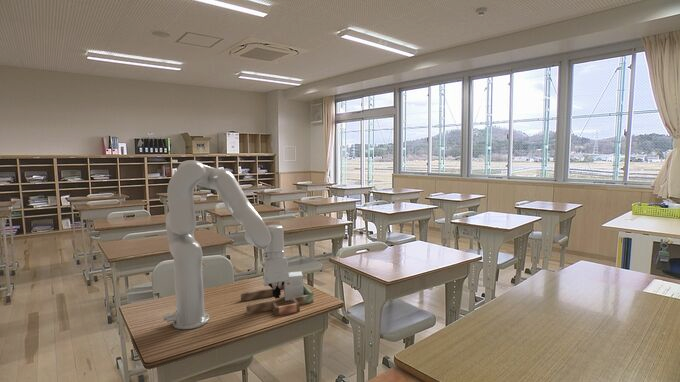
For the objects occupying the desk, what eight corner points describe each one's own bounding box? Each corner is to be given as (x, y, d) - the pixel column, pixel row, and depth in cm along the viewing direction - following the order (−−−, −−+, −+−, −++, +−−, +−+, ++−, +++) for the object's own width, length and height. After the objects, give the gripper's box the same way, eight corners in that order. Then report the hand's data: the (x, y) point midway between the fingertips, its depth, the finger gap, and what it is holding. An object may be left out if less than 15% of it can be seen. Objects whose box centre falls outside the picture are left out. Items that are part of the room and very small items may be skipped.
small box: (302, 294, 163) (301, 271, 162) (303, 299, 157) (303, 275, 156) (284, 296, 161) (283, 272, 160) (284, 301, 156) (284, 276, 155)
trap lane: (250, 320, 138) (249, 310, 137) (238, 295, 163) (238, 286, 163) (318, 307, 149) (318, 297, 148) (297, 285, 174) (297, 276, 174)
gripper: (259, 259, 147) (260, 303, 149) (295, 254, 153) (296, 297, 155) (255, 254, 154) (257, 297, 156) (290, 250, 160) (291, 291, 162)
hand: (276, 297), depth 156 cm, fingers closed
